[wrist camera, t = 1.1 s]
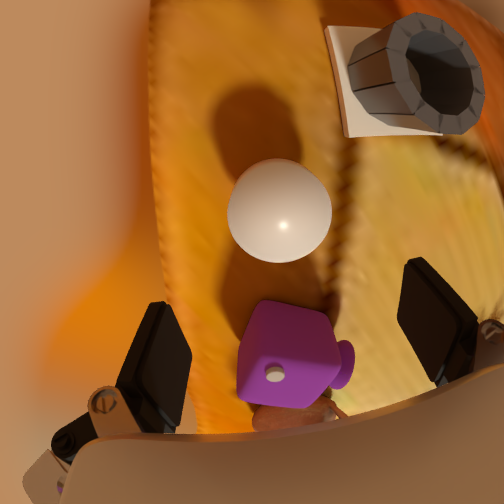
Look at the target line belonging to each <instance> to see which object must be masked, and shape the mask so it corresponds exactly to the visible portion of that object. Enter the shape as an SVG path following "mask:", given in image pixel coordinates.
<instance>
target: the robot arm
mask: <svg viewBox="0 0 504 504" xmlns="http://www.w3.org/2000/svg"><path fill="white" fill-rule="evenodd" d="M477 319H478V317H477V316H476V315H475V314H474V312H473V311H472V310H471V309H470V308H469V306H468V305H467V304H466V303H465V302H464V301H463V300H462V298H461V297H460V296H459V295H458V294H457V293H456V292H455V291H454V290H453V288H452V287H451V286H450V285H449V284H448V283H447V282H446V281H445V280H444V279H443V278H442V277H441V276H440V275H439V274H438V273H437V271H436V270H435V269H434V268H433V267H432V266H431V265H430V264H429V263H428V262H427V261H426V260H425V259H424V258H422V257H418V258H413V259H409V260H408V262H407V264H405V266H404V272H403V280H402V287H401V294H400V301H399V307H398V313H397V321H398V323H399V325H400V327H401V329H402V330H403V332H404V334H405V335H406V337H407V339H408V341H409V342H410V344H411V346H412V348H413V350H414V351H415V353H416V355H417V357H418V359H419V360H420V362H421V364H422V366H423V368H424V370H425V372H426V374H427V376H428V378H429V379H430V381H431V382H434V383H435V385H436V387H437V388H436V389H433V390H430V391H428V392H425V393H423V394H420V395H418V396H415V397H412V398H410V399H407V400H404V401H401V402H398V403H395V404H392V405H389V406H386V407H382V408H379V409H375V410H372V411H368V412H365V413H361V414H357V415H353V416H349V417H345V418H341V419H336V420H332V421H327V422H322V423H317V424H311V425H305V426H299V427H293V428H286V429H278V430H269V431H259V432H247V433H231V434H164V433H175V430H176V426H179V425H180V421H181V415H182V409H183V404H184V399H185V393H186V388H187V382H188V377H189V372H190V367H191V361H192V352H191V349H190V347H189V345H188V343H187V341H186V339H185V337H184V335H183V332H182V330H181V328H180V326H179V324H178V321H177V319H176V317H175V315H174V312H173V310H172V308H171V306H170V305H169V304H166V303H165V302H164V301H161V302H152V303H150V304H149V306H148V308H147V310H146V312H145V315H144V317H143V319H142V321H141V324H140V326H139V328H138V330H137V333H136V335H135V337H134V340H133V342H132V344H131V347H130V349H129V351H128V354H127V356H126V359H125V361H124V363H123V366H122V368H121V371H120V374H119V376H118V378H117V382H116V385H115V387H113V386H103V387H101V388H99V389H97V390H96V391H95V392H94V393H93V394H92V395H91V396H90V398H89V400H88V412H87V413H85V414H84V415H82V416H81V417H79V418H77V419H76V420H74V421H73V422H71V423H69V424H68V425H66V426H64V427H63V428H61V429H60V430H58V431H57V432H56V433H55V435H54V436H53V438H52V441H51V447H52V450H51V451H50V450H49V449H47V450H46V451H45V452H44V454H42V456H41V457H40V458H39V459H38V460H37V461H36V462H35V463H34V464H33V465H32V466H31V467H30V468H29V470H28V471H27V472H26V473H25V475H24V476H23V487H24V489H25V491H26V493H27V494H28V496H29V498H30V499H31V501H32V502H33V503H34V504H504V325H503V324H502V323H501V322H499V321H497V320H493V319H488V320H484V321H483V322H481V323H480V324H479V323H478V322H477ZM447 383H448V384H447ZM442 385H443V386H442ZM440 386H441V387H440Z"/></svg>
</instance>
